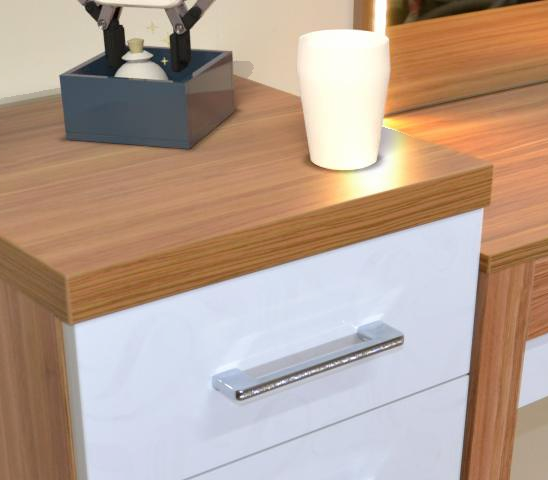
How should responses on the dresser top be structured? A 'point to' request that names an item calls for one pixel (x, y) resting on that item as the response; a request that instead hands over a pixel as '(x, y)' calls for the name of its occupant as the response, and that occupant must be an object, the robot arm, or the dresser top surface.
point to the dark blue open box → (149, 100)
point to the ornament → (141, 62)
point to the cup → (343, 95)
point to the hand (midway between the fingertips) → (149, 65)
